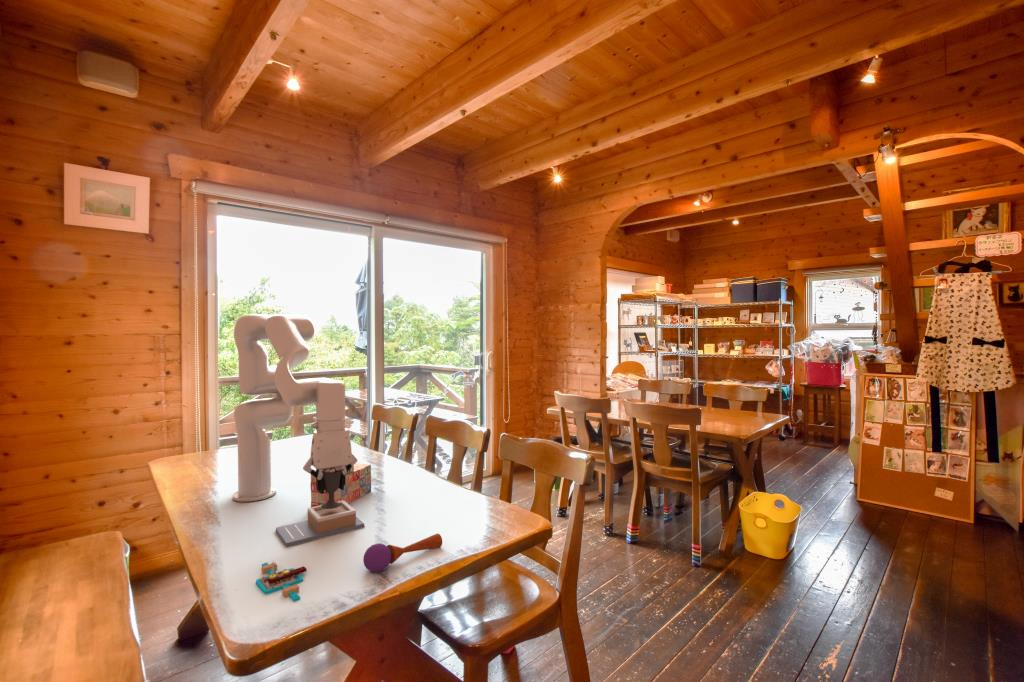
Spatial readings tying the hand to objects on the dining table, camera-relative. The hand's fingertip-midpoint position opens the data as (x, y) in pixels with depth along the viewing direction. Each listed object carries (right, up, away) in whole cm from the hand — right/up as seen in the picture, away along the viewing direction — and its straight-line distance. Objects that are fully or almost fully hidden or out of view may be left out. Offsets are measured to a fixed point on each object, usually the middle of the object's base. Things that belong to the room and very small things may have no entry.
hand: (331, 489), depth 132 cm
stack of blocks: (-4, -10, +20) cm, 23 cm away
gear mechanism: (+1, -11, -29) cm, 31 cm away
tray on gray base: (-2, -10, -2) cm, 11 cm away
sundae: (0, -5, 0) cm, 5 cm away
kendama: (+25, -11, -19) cm, 33 cm away
